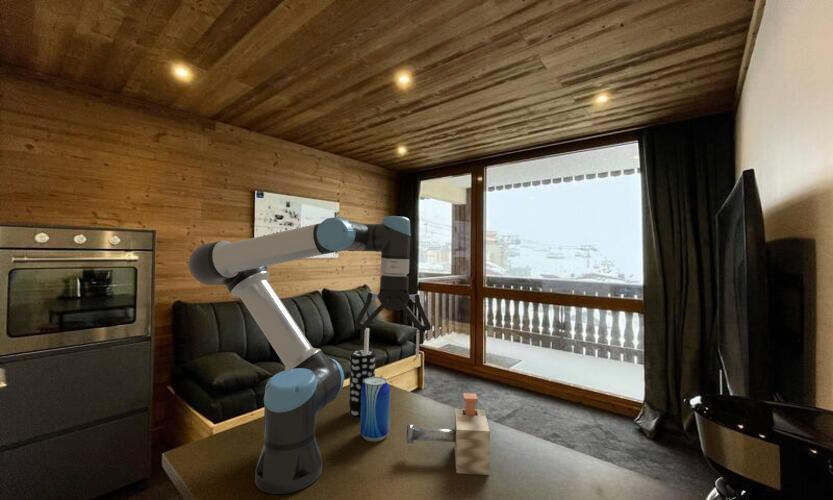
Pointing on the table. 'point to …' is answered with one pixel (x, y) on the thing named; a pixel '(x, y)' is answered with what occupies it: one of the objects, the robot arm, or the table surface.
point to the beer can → (375, 409)
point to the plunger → (470, 403)
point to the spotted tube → (359, 378)
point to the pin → (430, 434)
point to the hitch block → (472, 443)
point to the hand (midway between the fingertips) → (391, 355)
